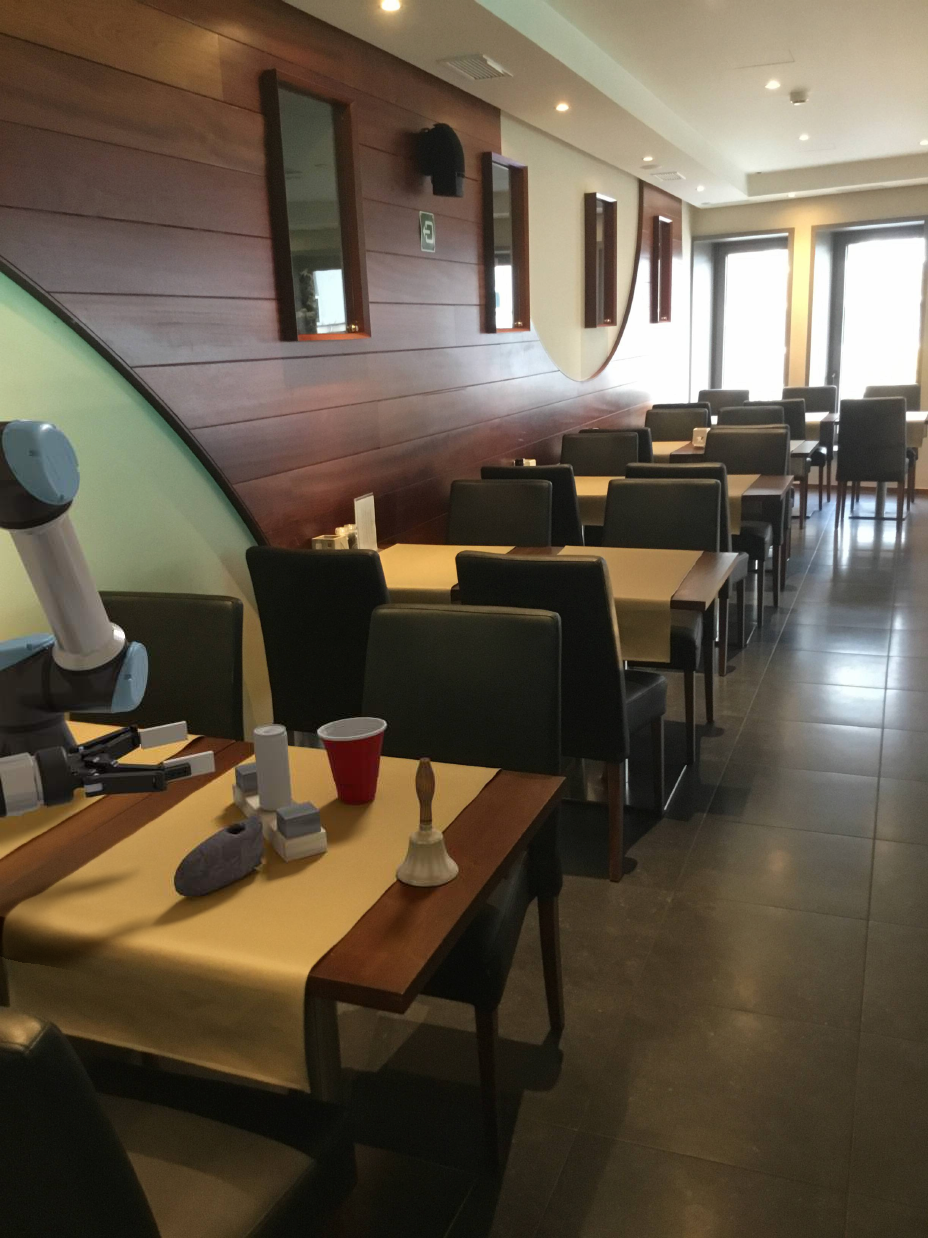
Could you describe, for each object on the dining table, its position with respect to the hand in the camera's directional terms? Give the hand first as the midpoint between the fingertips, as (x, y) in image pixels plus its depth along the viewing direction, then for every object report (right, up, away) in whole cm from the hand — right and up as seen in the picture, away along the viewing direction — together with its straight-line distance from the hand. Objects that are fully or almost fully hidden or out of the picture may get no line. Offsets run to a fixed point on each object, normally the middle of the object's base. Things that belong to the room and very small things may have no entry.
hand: (199, 745), depth 140 cm
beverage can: (+9, -10, +8) cm, 16 cm away
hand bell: (+32, -16, -7) cm, 37 cm away
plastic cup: (+20, -11, +18) cm, 29 cm away
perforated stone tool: (+5, -17, -8) cm, 20 cm away
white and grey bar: (+9, -13, +9) cm, 18 cm away
